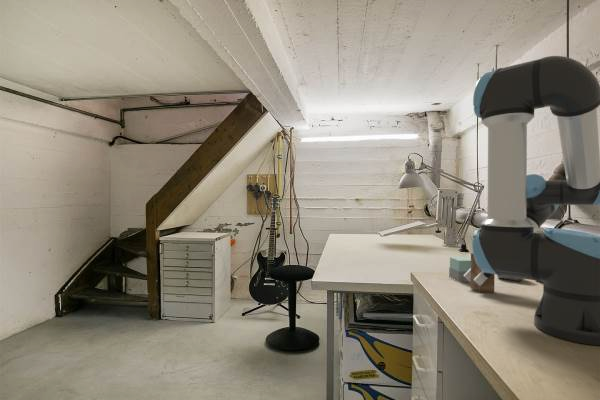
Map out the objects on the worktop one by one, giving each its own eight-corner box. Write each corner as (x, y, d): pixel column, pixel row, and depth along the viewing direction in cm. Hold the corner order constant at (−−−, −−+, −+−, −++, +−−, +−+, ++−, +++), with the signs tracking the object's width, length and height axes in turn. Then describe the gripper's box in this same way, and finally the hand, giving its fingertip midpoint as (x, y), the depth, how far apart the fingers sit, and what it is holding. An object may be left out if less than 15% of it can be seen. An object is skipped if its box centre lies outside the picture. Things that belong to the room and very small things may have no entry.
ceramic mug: (521, 282, 119) (521, 262, 119) (496, 279, 124) (496, 259, 125) (525, 278, 127) (525, 259, 127) (501, 275, 132) (502, 256, 132)
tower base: (477, 282, 121) (477, 271, 121) (458, 282, 121) (458, 271, 121) (466, 277, 128) (466, 267, 128) (449, 277, 128) (449, 267, 128)
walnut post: (494, 292, 107) (494, 255, 107) (479, 292, 107) (479, 255, 107) (484, 288, 112) (484, 253, 112) (470, 288, 112) (470, 253, 112)
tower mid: (477, 271, 121) (477, 260, 121) (458, 271, 121) (458, 260, 121) (467, 267, 128) (467, 257, 128) (449, 267, 128) (449, 257, 128)
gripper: (548, 242, 101) (497, 296, 100) (507, 236, 119) (463, 281, 118) (532, 225, 101) (481, 279, 100) (493, 221, 119) (449, 267, 118)
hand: (471, 280), depth 109 cm, fingers closed on walnut post, 5 cm apart
